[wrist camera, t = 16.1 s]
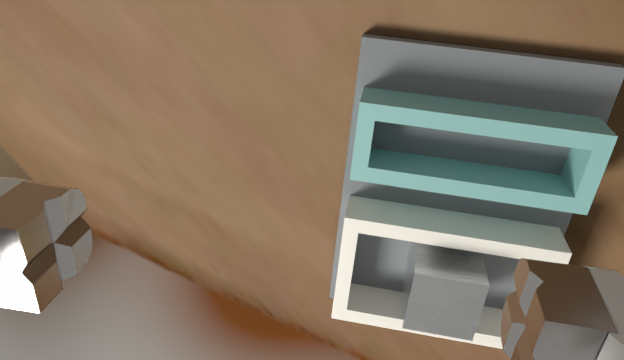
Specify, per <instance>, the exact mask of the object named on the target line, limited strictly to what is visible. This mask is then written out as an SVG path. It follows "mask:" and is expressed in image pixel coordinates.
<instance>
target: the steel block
mask: <svg viewBox="0 0 624 360" xmlns="http://www.w3.org/2000/svg"><path fill="white" fill-rule="evenodd" d="M488 290H489V281H488V277H487V272H486V268H485V263H484V259H483V254H482V253H478V252H472V251H466V250H460V249H454V248H447V247H441V246H435V245H429V244H423V243H416V242H411V245H410V250H409V255H408V259H407V264H406V269H405V274H404V278H403V316H402V328H404V329H409V330H415V331H420V332H426V333H431V334H437V335H442V336H448V337H453V338H459V339H464V340H470V341H473V337H474V334H475V331H476V328H477V325H478V322H479V318H480V315H481V312H482V309H483V306H484V302H485V299H486V296H487V293H488Z"/></svg>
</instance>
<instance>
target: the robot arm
mask: <svg viewBox="0 0 624 360" xmlns="http://www.w3.org/2000/svg"><path fill="white" fill-rule="evenodd" d="M86 210H87V206H86V202H85V197H84V194H83V193H82V192H81V191H79V190H78V189H77V188H71V187H66V186H60V185H54V184H49V183H43V182H37V181H29V180H26V179H20V178H13V177H0V307H3V308H9V309H15V310H22V311H27V312H34V313H41V312H42V311H43V310H44V309H45V308H46V307H47V306H48V304H49V303H50V302H51V301H52V300H53V299H54V298H55V297H56V296H57V295H58V294H59V293H60V292H61V291H62V289H63V283H62V280H64V279H67V278H69V277H71V276H74V275H76V274H77V273H78V272H79V271H80V270H81V269H82V268H83V267H84V266H85V264H86V262H87V260H88V258H89V255H90V253H91V250H92V233H91V228H90V227H89V225H88V224H87V223H86V222H85V221H84V219H83V218H82V216H83V214H84V213H85V211H86ZM513 279H514V283H515V287H516V291H514V292H513V293H511V294H510V295H508V296H507V297H506V301H505V304H504V308H503V311H502V319H501V341H502V348H503V351H504V352H505V353H506V354H507V355H508V356H509V357H510V358H511V360H624V278H623V276H622V274H621V273H619V272H618V271H616V270H612V269H603V268H595V267H587V266H576V265H568V264H561V263H554V262H547V261H540V260H532V259H525V258H521V259H520V261H519V262H518V264H517V266H516V269H515V272H514V275H513Z"/></svg>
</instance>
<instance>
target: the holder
mask: <svg viewBox="0 0 624 360" xmlns="http://www.w3.org/2000/svg"><path fill="white" fill-rule="evenodd" d="M623 79H624V66H623V65H622V64H617V63H608V62H600V61H591V60H583V59H574V58H566V57H557V56H549V55H540V54H532V53H523V52H515V51H506V50H498V49H490V48H481V47H473V46H464V45H456V44H447V43H439V42H430V41H422V40H413V39H405V38H396V37H388V36H379V35H371V34H363V35H362V40H361V48H360V56H359V64H358V72H357V80H356V88H355V96H354V104H353V112H352V120H351V128H350V136H349V144H348V152H347V160H346V168H345V175H344V183H343V191H342V199H341V207H340V215H339V223H338V231H337V239H336V247H335V255H334V263H333V271H332V279H331V287H330V295H329V298H334V302H333V309H332V317H331V318H334V319H340V320H345V321H351V322H356V323H362V324H367V325H373V326H379V327H384V328H390V329H395V330H401V331H406V332H412V333H417V334H423V335H428V336H434V337H439V338H445V339H450V340H456V341H461V342H467V343H472V344H478V345H483V346H489V347H495V348H500V349H503V348H502V341H501V319H502V311H503V308H504V304H505V301H506V297H507V296H508V295H510V294H511V293H513V292H514V291H516V287H515V283H514V279H513V275H514V272H515V269H516V266H517V264H518V262H519V261H520V259H521V258H525V259H532V260H540V261H547V262H554V263H561V264H568V263H569V260H570V258H571V255H572V252H571V250H570V248H569V246H568V244H567V242H566V240H565V238H564V236H565V233H566V230H567V228H568V225H569V222H570V220H571V217H572V214H573V213H575V214H582V215H588V212H589V209H590V207H591V204H592V202H593V199H594V197H595V194H596V192H597V189H598V187H599V184H600V181H601V179H602V176H603V174H604V171H605V169H606V166H607V164H608V161H609V159H610V156H611V153H612V151H613V148H614V146H615V143H616V141H617V138H618V136H617V135H616V134H615V133H614V132H613V131H612V129H611V128H610V127H609V126H608V125H607V122H608V119H609V116H610V114H611V111H612V108H613V106H614V103H615V100H616V98H617V95H618V92H619V90H620V87H621V84H622V82H623ZM411 242H416V243H423V244H429V245H435V246H441V247H447V248H454V249H460V250H466V251H472V252H478V253H482V254H483V259H484V263H485V268H486V272H487V277H488V281H489V290H488V293H487V296H486V299H485V302H484V306H483V309H482V312H481V315H480V318H479V322H478V325H477V328H476V331H475V334H474V337H473V341H470V340H464V339H459V338H453V337H448V336H442V335H437V334H431V333H426V332H420V331H415V330H409V329H404V328H402V316H403V278H404V274H405V269H406V264H407V259H408V255H409V250H410V245H411Z"/></svg>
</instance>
